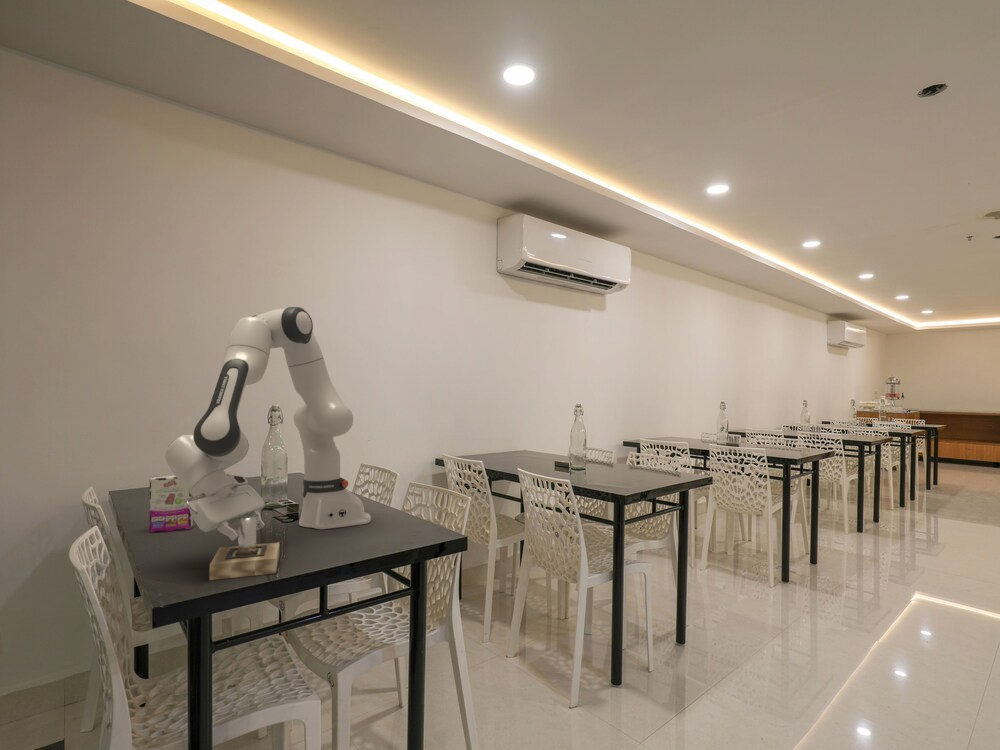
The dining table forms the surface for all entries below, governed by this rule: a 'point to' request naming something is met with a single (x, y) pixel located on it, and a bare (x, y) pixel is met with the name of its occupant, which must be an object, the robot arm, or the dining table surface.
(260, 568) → the socket block
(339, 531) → the dining table surface
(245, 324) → the robot arm
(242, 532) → the aluminium pin
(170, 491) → the candy bar box
